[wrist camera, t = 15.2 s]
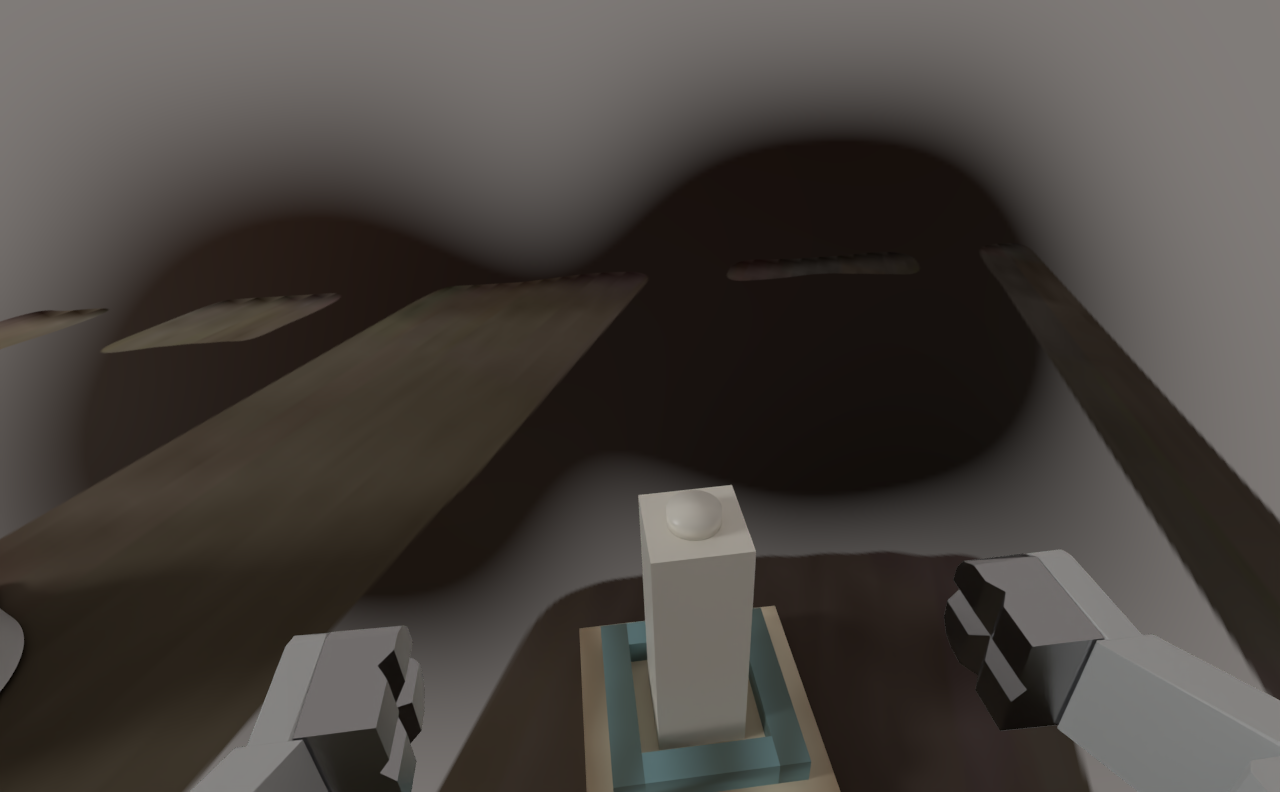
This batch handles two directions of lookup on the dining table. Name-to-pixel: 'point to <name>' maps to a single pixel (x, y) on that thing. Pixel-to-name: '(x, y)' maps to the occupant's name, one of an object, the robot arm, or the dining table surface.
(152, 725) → the dining table surface
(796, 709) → the birch base board
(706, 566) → the cream pillar
